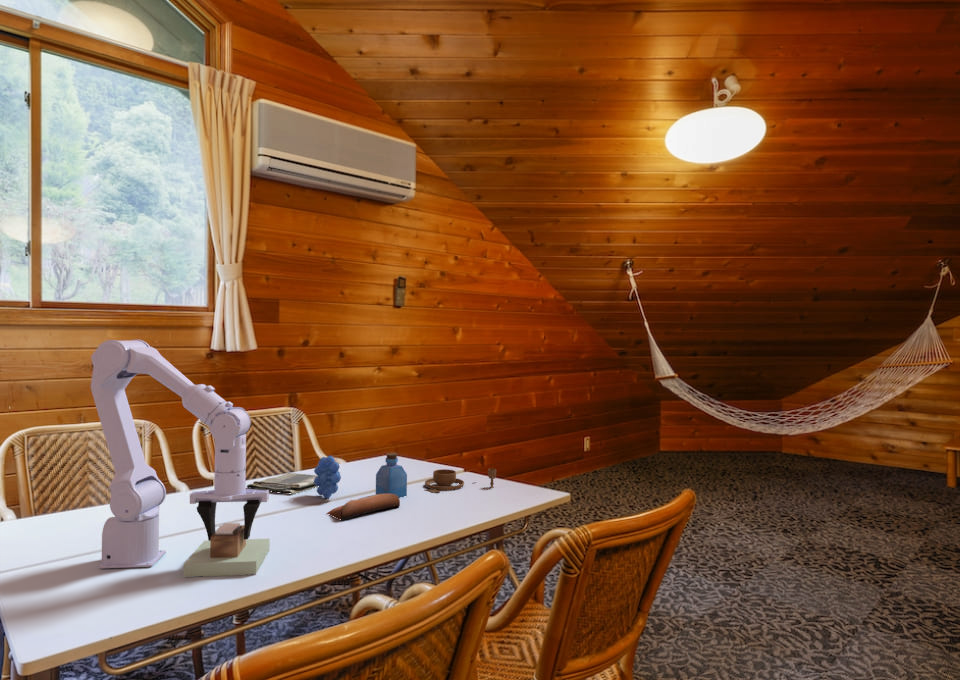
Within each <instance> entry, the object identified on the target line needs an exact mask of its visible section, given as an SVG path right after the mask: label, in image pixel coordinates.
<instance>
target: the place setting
mask: <svg viewBox="0 0 960 680" xmlns="http://www.w3.org/2000/svg"><path fill="white" fill-rule="evenodd" d="M432 474H433V475H432V478H429V479H426V480H425V481H424V485H425V487H426V488H427V489H425V490H426V491H427V492H430V491H431V492H430V493H433V492H434V494H439V493H440V492H441V490H448V491H455V490H454V489H456V490H459V488H460V489H462V488H463V487H464V484H465V481H464V480H463V479H460V478H457V472H456V470H454V469H447V468H446V469H445V468H443V469H442V468H441V469H436V470H434V471H433V472H432ZM487 474H488V475H487V476H488V478H489V479H490V482H489V484H490V486H489V488H490V489H493V488H495V487H494V479H496V477H497V469H496V468H488V470H487ZM457 483H459V484H460V485H459V484H457ZM476 483H477V481H475V482H474V483H473V484H476ZM432 484H436V485H432ZM453 484H456V485H453ZM461 487H462V488H461Z"/></svg>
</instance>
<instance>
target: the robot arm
mask: <svg viewBox="0 0 960 680" xmlns="http://www.w3.org/2000/svg"><path fill="white" fill-rule="evenodd" d="M90 358H91V364H92V366H93V368H92V374H91V382H90V391H91V394H92V397H93V400H94V401H93V402H94V405H95V407H96V410H97V415H98V418H99V421H100V424H101V428H102V432H103V435H104V438H105V442H106V444H107V445H106V446H107V448H108V451H109V455H110V458H111V462H112V466H113V469H114V473H115V474H114V476H113V478H112V480H111V482H110V484H109V487H108V488H109V490H110V500H109V508H110V512H111V513H112V515H114V516H112V517H108V518H107V519H106V521H105V522H104V524H103V527H102V531H101V532H102V533H101V564H100V565H99V568H100V569H119V568H121V569H122V568H145V567H146V568H149V567H153V566H154V565H155V564H156V563H157V562H159V560H160V559H161V558H162V557H163V556H164V555H166V553H167V550H165V549H164V550H163V549H162V550H160V549H159V546H160V545H159V542H160V541H159V540H160V539H159V538H160V530H159V529H160V506H161V505H162V504H163V503H164V502H165V500H166V495H167V489H166V487H165V485H164V483H163V482H162V481H161V480H160V478H159V477H158V475H157V471H156V470H155V469H154V468H153V467H152V466H150V465H148V463H147V462H146V459H145V455H144V451H143V448H142V446H141V442H140V439H139V435H138V432H137V431H138V430H137V428H136V425H135V421H134V418H133V414H132V411H131V407H130V403H129V401H128V396H127V395H126V394H127V393H126V388H127V386H128V385H129V384H130V382H131V380H133V378H135V377H136V376H137V375H138V374H141V375H143V374H144V375H149V376H151V377H152V378H153V379H155V380H156V381H157V382H159V383H160V384H162V385H163V386H165V387H166V388H168V389H169V390H171V391H172V392H173V393H175V394H176V395H178V396H179V397H180V398H181V402H182V403H181V404H182V406H183V407H184V409H186V410H187V411H188V412H190V413H191V414H192V415H193V416H195V417H196V418H197V419H199V421H201V422H203V424H205V425H206V426H208V428H209V432H210V434H211V436H212V437H213V438H214V441H215V442H214V484H213V485H214V489H212V490H201V491H200V490H199V491H192V492H191V493H190V494H189V505H194V504H198V505H197V506H196V511H197V513H198V514H199V516H200V518H201V520H202V523H203V525H204V527H205V531H206V534H207V541H208V540H209V541H210V538H211V536H212V535H213V534H214V533H215V532H216V510H217V503H239V502H240V503H241V502H242V503H243V502H245V503H244V505H243V507H242V509H243V517H244V519H243V520H244V539H250V537H251V531H252V526H253V522H254V519H255V516H256V514H257V512H258V509H259V508H260V505H261V504H262V503H267V502H269V497H270V491H269V490H257V489H253V488H246V480H247V479H246V472H247V471H246V467H247V465H246V464H247V457H246V456H247V445H246V443H247V432H248V431H249V429H250V428H251V424H252V422H251V421H252V420H251V417H250V415H249V413H248V412H247V411H246V409H244V407H240V406H234V403H232V402H231V401H226V400H225V399H224V398H223V397H221V396H220V395H219V394H217V393H216V392H215V390H216V388H215V387H214V386H212V385H206V384H204V383H200V384H194V383H193V382H192V381H191V380H190V379H189V378H187V377H186V376H185V375H184V374H183V373H182V372H181V371H180V370H178V369H177V368H176V367H175V366H173V364H172V363H170V362H169V360H167V359H166V358H165V357H164V356H162V354H161V353H160V352H159V351H158V349H157V348H155V347H153V346H150V344H148V343H147V341H144V340H142V339H131V340H117V339H116V340H115V339H107V340H105V341H103V342H101V343H100V344H99V345H98V346H97V348H96V349H95V351H94V352H93V353H92V354H91V356H90Z"/></svg>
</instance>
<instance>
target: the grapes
mask: <svg viewBox="0 0 960 680" xmlns="http://www.w3.org/2000/svg"><path fill="white" fill-rule="evenodd" d="M340 468H341V467H340V464H339V463H338V461H337V462H336V460H335V458H334V457H333V455H328V456H323V457H320V459H319V461H318V464H317V465H316V467H315V468H314V470H313V471H314V475H317V477H316V478H315V479H314V484H315V485H316V486H319V487H316V492H317V495H319V496H322V497H323V498H325V499H329V498H331V496H332V495H334V494H336V493H337V492H338V490H339V486H338V484H339V483H340V481H341V479H342V476H341V473H340V471H339V470H340Z"/></svg>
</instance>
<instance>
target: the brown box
mask: <svg viewBox="0 0 960 680" xmlns="http://www.w3.org/2000/svg"><path fill="white" fill-rule="evenodd" d="M221 526H222V525H220V526H219V527H218V528H217V529H215V532H216V531H217V530H218V529H219V528H220V527H221ZM245 545H246V539H244V525H243V524H242V525H241V524H240V530H239V531H238V533H237V534H236V535H235V536H215V533H214V534H213V535H212V536H211V538H210V558H227V557H238V556H239V554H240V553H241V551H242V550H243V548H244V547H245Z"/></svg>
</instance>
